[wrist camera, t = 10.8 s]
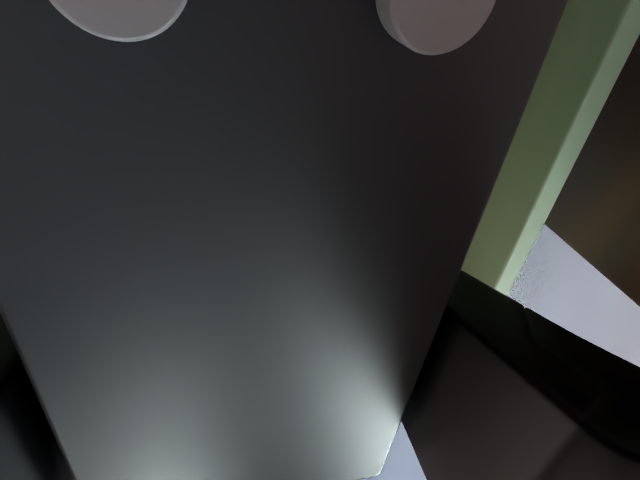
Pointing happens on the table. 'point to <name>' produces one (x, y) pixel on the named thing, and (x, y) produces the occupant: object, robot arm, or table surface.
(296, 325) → the dark gray box
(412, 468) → the table surface
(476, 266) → the tray
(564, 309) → the table surface
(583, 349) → the robot arm
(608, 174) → the shelf
